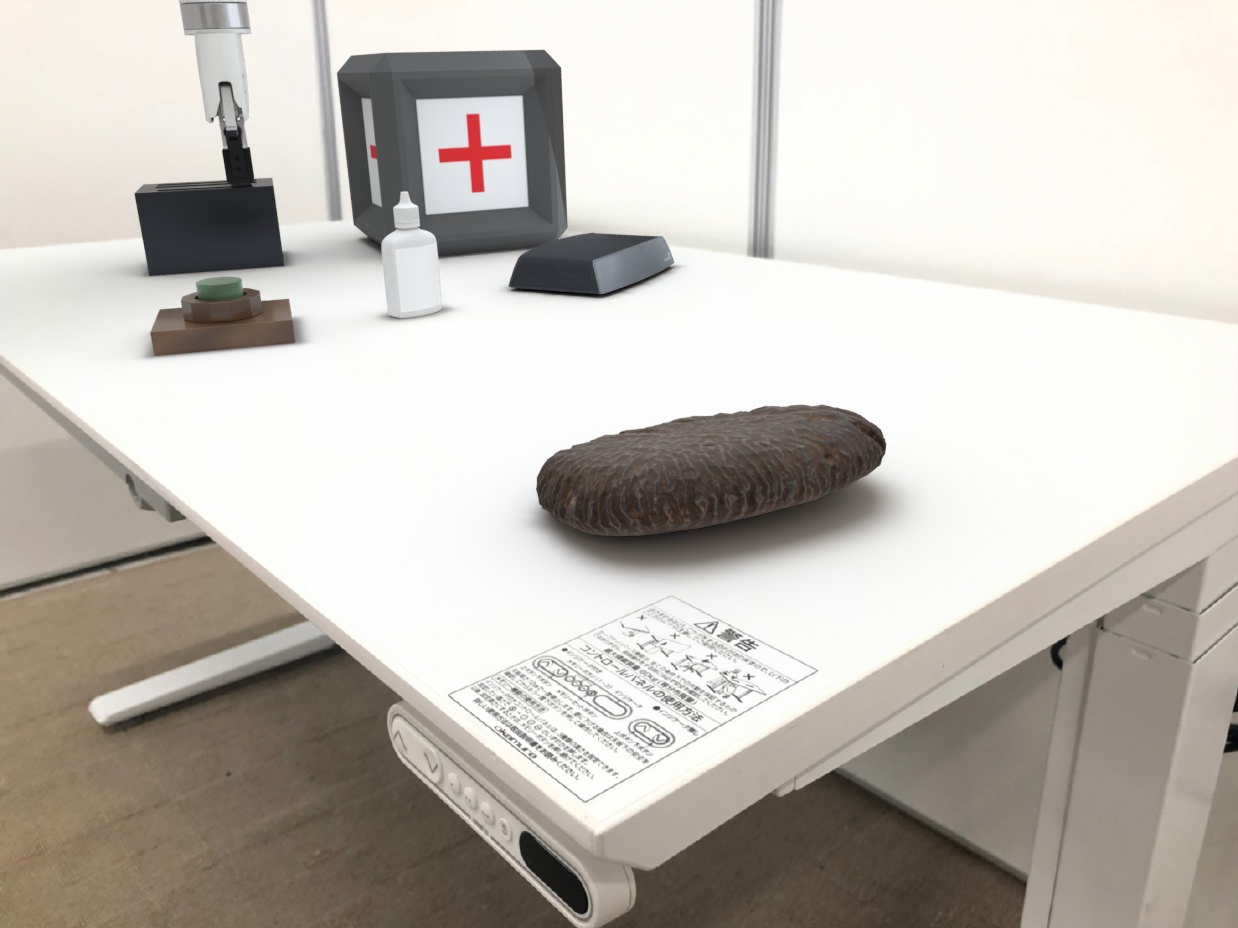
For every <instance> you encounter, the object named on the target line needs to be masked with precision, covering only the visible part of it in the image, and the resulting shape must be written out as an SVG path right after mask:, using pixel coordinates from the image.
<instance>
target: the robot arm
mask: <svg viewBox="0 0 1238 928" xmlns="http://www.w3.org/2000/svg"><path fill="white" fill-rule="evenodd" d="M178 3H179V9H180V15H181V23H182V28H183V34H184V36H194V47H195V56H196V64H197V65H196V66H197V71H198V78H199V85H200V90H201V96H202V103H203V108H204V109H203V111H204V116H205V117H204V118H205V121H206V122H207V123H208V124H213V123H214V122H215V119H216V118H217V117H218V123H219V124H218V125H219V129H220V135H221V141H222V150H221V154H222V159H223V166H224V167H223V168H224V173H225V178H226V179H225V180H227V183H229V184H240V183H252V182H254V179H255V174H254V166H253V160H252V152H251V147H250V146H248V139H247V133H246V127H245V126H246V125H245V122H246V121H248V120H249V119H250V100H249V98H250V97H249V85H248V76H247V67H246V60H245V53H244V45H243V38H242V35H251V34H252V28H251V20H250V14H249V7H248V0H178ZM242 146H243V147H242ZM228 149H229V150H228Z"/></svg>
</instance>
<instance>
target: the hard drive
mask: <svg viewBox="0 0 1238 928" xmlns="http://www.w3.org/2000/svg"><path fill="white" fill-rule="evenodd" d="M672 265H675V259H674V257H673V254H672V251H671V249H670V247H669V245H668V243H667V241H666V239H665V237H664V236H663V235H642V234H641V235H637V234H619V233H599V232H588V233H581V234H575V235H571V236H566V237H562V238H559V239H558V240H554V241H551V242H548V243H545V244H542V245H540V246H537V247H532V248H530V249H529V250H527V251H525V252H524V253H522V254H520V255H519V256H518V258H517V259H516V262H515V264H514V266H513V270H512V273H511V275H510V279H509V283H508V288H512V289H513V288H514V289H524V290H536V291H537V290H538V291H551V292H552V291H553V292H563V293H577V294H589V295H591V294H592V295H603V294H607V293H610V292H613V291H616V290H618V289H622V288H624V287H627V286H630V285H633V284H635V283H638V282H640V281H642V280H645V279H646V278H650V277H652V276H654V275H656V274H657V273H660V272H662V271H664V270H665V269H667V268H670V267H671V266H672Z"/></svg>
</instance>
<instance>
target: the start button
mask: <svg viewBox="0 0 1238 928" xmlns="http://www.w3.org/2000/svg"><path fill="white" fill-rule="evenodd" d="M195 287H196V292H197V294H198V300H206V301H216V300H228V299H233V298H238V297H242V296H244V293H243V288H244V286H243V280H242V278H241V277H237V276H215V277H209V278H203V279H200V280H197V281H196V282H195Z"/></svg>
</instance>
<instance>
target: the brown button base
mask: <svg viewBox="0 0 1238 928" xmlns="http://www.w3.org/2000/svg"><path fill="white" fill-rule="evenodd" d="M243 293H244V296H242V297H238V298H233V299H228V300H216V301H206V300H198V294H197V291H195V292H192V293H188V294H186V295H183V296H181V299H180V304H181V307H172V308H171V307H170V308H161V309H160V308H159V310H158V312H157V315H156V317H155V320H154V322H153V324H152V327H151V329H150V332H149V335H150V340H151V345H152V350H153V356H154V357H160V356H161V357H162V356H171V355H180V354H181V355H182V354H192V353H203V352H212V351H224V350H232V349H233V350H234V349H235V350H236V349H245V348H256V347H267V346H276V345H278V346H279V345H286V344H287V345H289V344H295V343H296V338H295V337H296V335H295V329H294V321H293V314H292V309H291V301H290V298H280V299H279V298H278V299H268V300H262V295H261V291H260V290H259V289H255V288H250V287H243Z"/></svg>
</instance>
